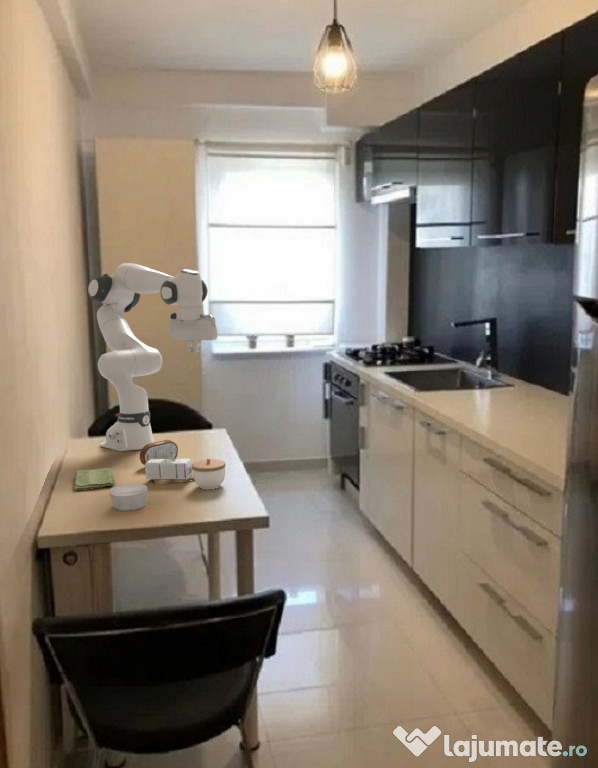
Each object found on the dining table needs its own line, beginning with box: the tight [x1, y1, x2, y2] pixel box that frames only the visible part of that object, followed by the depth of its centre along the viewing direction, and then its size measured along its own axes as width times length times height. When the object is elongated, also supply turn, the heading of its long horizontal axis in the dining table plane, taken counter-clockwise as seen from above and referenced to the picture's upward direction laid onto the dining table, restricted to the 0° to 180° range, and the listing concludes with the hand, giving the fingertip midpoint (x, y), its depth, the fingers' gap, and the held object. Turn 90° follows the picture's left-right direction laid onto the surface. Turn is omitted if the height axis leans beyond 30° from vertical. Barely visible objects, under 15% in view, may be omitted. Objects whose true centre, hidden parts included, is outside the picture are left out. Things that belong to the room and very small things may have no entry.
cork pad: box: [153, 471, 194, 486], centre depth 244 cm, size 14×14×1 cm
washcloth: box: [73, 467, 116, 492], centre depth 241 cm, size 13×18×3 cm
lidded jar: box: [192, 457, 226, 491], centre depth 231 cm, size 11×11×9 cm
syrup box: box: [144, 458, 193, 480], centre depth 239 cm, size 6×6×14 cm
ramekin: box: [109, 483, 149, 512], centre depth 215 cm, size 11×11×5 cm
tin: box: [139, 439, 179, 466], centre depth 259 cm, size 15×3×8 cm, turn 134°
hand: (193, 351), depth 265 cm, fingers closed
